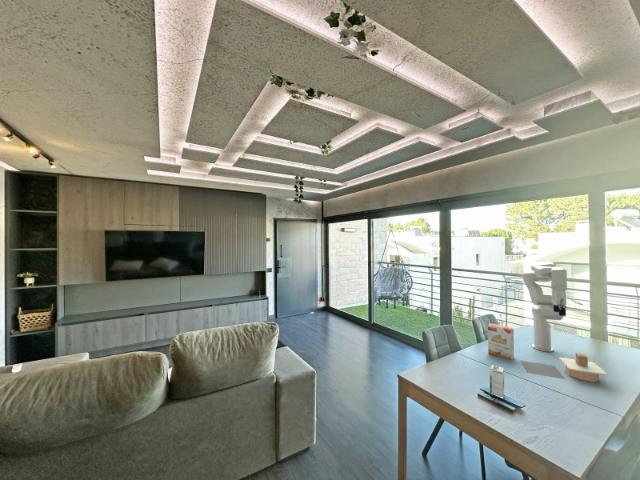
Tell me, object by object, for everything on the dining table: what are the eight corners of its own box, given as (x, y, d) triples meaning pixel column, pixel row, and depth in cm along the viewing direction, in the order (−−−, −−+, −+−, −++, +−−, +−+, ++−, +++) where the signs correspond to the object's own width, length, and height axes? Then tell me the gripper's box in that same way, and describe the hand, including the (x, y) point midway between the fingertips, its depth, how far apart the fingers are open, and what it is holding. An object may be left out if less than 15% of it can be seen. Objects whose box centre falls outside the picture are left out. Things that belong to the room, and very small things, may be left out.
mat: (519, 360, 174) (519, 360, 174) (554, 366, 166) (554, 365, 166) (526, 373, 158) (526, 372, 158) (565, 380, 150) (565, 379, 150)
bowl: (563, 369, 162) (563, 359, 162) (591, 374, 156) (591, 364, 156) (572, 379, 150) (571, 369, 150) (602, 384, 144) (602, 374, 145)
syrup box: (491, 391, 140) (490, 364, 140) (504, 395, 136) (504, 367, 136) (489, 396, 135) (489, 368, 135) (503, 400, 131) (503, 371, 131)
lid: (558, 358, 164) (558, 347, 164) (593, 363, 157) (593, 352, 157) (569, 369, 150) (569, 357, 150) (607, 375, 143) (607, 363, 143)
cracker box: (487, 353, 186) (487, 324, 186) (491, 351, 189) (490, 322, 189) (511, 360, 174) (510, 329, 175) (514, 358, 178) (513, 327, 178)
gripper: (547, 285, 177) (547, 309, 177) (556, 289, 162) (556, 316, 162) (561, 285, 174) (561, 311, 174) (572, 290, 158) (572, 318, 158)
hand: (559, 313), depth 168 cm, fingers open, 9 cm apart
